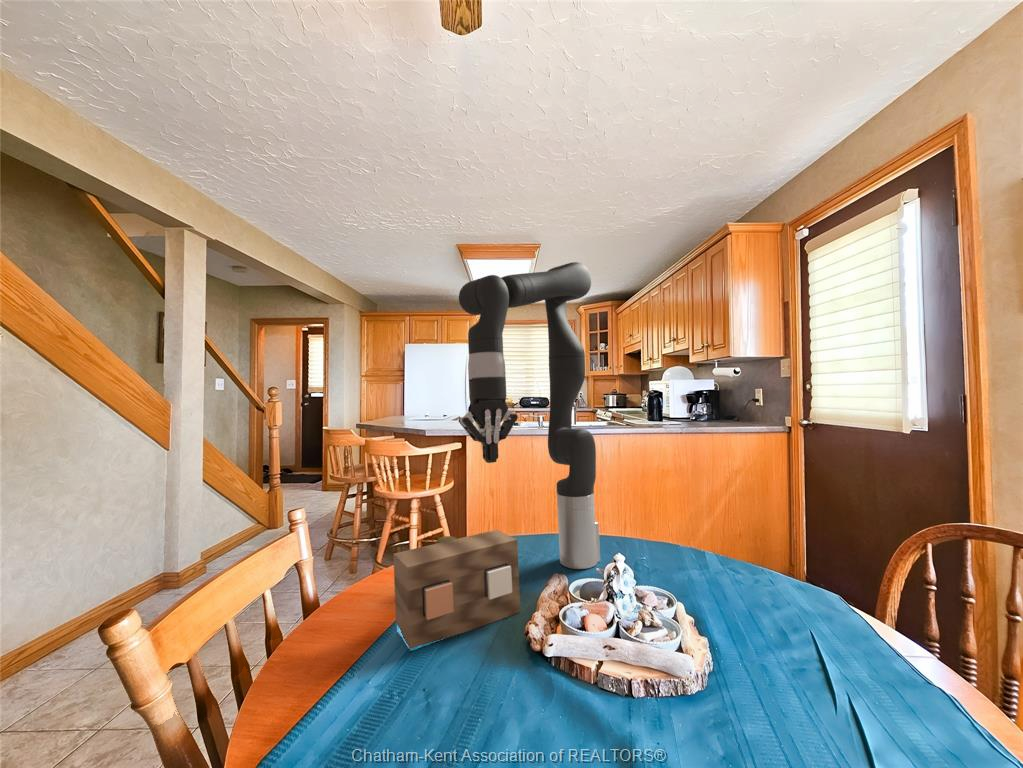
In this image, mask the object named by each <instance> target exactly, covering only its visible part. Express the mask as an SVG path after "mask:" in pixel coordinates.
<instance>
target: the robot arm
mask: <svg viewBox="0 0 1023 768" xmlns="http://www.w3.org/2000/svg"><path fill="white" fill-rule="evenodd" d="M591 287H592V278H591V273H590V271H589V269H588V268H587V266H585V264H583V263H582V262H578V261H574V262H573V261H572V262H569V263H565V264H562V265H558V266H555V267H552V268H550V269H548V270H547V271H539V272H527V273H525V272H524V273H517V274H516V273H515V274H509V275H505V276H501V277H500V276H499V275H495V274H490V275H485V276H483V277H480V278H476V279H475V280H474V279H473V280H472V281H469V282H466V283H465V284H464V285H463V286H462V287H461V288H460V290H459V293H458V302H459V305H460V307H461V309H462V310H463V311H464V312H466V313H467V314H468V315H472V316H479V319H478V321H477V322H476V323H475V324H474V325H472V326H471V327H469V329H468V331H467V332H468V333H467V340H468V341H467V342H468V343H467V345H468V362H467V363H468V364H467V372H468V373H467V374H468V396H469V405H468V409H467V413H465V414H464V416H463V417H459V418H458V423H459V424H460V425H461V427H462V428H463V429H464V431H465V432H466V433H467V434H468V436H470V437H469V438H471V439H472V441H474V442H478V443H481V448H482V459H483V460H484V461H485V463H486V464H487V463H488V464H493V463H496V462H497V460H498V458H499V443H500V442H501V441H502V440H506V438H507V437H508V436H509V433H510V432H511V430H512V428H513V427H514V425H515V424H516V422H517V420H518V418H519V416H518V414H516V413H513V412H511V411H510V410H509V406H508V404H507V401H506V400H507V378H506V372H507V371H506V362H505V357H504V342H503V341H504V339H503V331H504V329H505V324H506V319H507V313H508V310H509V308H511V309H512V308H513V309H514V308H518V307H523V306H527V305H531V304H534V303H538V302H541V301H544V304H545V311H546V320H547V333H548V335H547V336H548V370H549V371H548V375H549V419H548V431H547V432H548V433H547V449H548V455H549V457H550V459H551V460H552V461H553V462H554V463H555V464H558V465H565V466H569V467H568V476H567V477H564V478H562V479H560V480H558V481H557V482H556V504H557V522H558V524H557V525H558V526H557V527H558V543H559V544H558V547H559V563H560V564H561V566H563V567H566V568H569V569H573V570H584V569H591V568H593V567H595V566H596V565H597V564H598V563H599V562H601V549H600V548H601V546H600V529H599V527H600V526H599V523H598V522H597V521H596V514H595V513H596V511H595V493H594V492H595V489H594V487H595V483H596V479H597V478H596V476H597V469H596V468H597V464H596V463H597V462H596V461H597V450H596V442H595V439H594V436H593V434H592V433H591V432H590V431H589V430H587V429H583V428H572V415H573V407H574V404H575V402H576V400H577V398H578V396H579V394H580V392H581V389H582V387H583V384H584V382H585V378H586V355H585V354H586V352H585V349H584V347H583V344H582V342H581V340H580V339H579V337H578V336H577V335H576V333H575V331H574V330H573V328H572V326H571V325H570V322H569V319H568V315H567V302H571V301H574V300H578V299H581V298H583V297H584V296H587V294H588V293H589V292H590V290H591ZM502 421H503V422H502ZM474 422H475V424H476V425H477V427H476V426H475V425H474Z"/></svg>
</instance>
